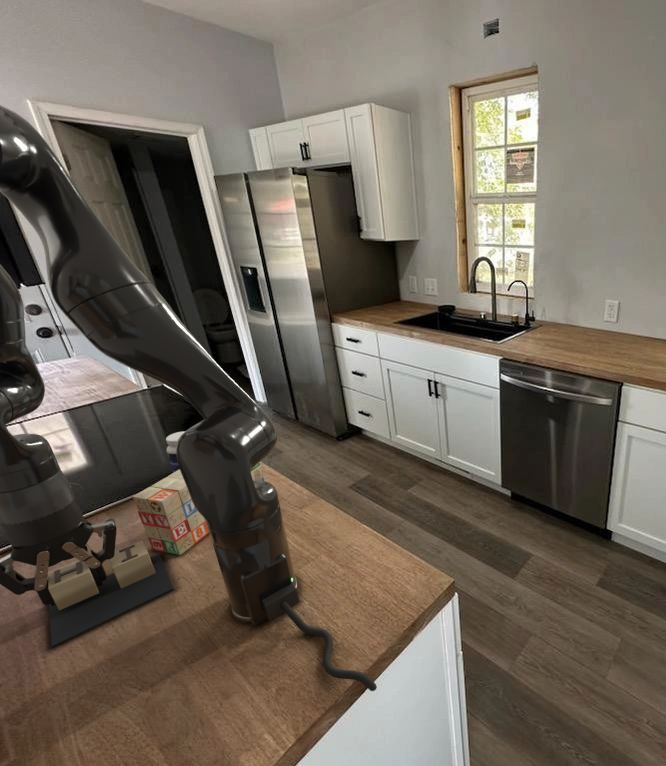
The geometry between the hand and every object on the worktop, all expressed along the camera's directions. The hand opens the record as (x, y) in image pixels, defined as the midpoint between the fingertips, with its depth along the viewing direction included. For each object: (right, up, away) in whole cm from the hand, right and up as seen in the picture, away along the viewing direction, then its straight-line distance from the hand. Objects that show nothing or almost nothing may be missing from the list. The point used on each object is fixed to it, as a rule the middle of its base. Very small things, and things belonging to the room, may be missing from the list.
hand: (78, 591), depth 66 cm
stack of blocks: (+8, +6, +20) cm, 22 cm away
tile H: (0, 0, 0) cm, 0 cm away
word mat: (+4, -1, +1) cm, 5 cm away
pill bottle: (-9, +12, +35) cm, 38 cm away
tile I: (+5, +1, +5) cm, 7 cm away
